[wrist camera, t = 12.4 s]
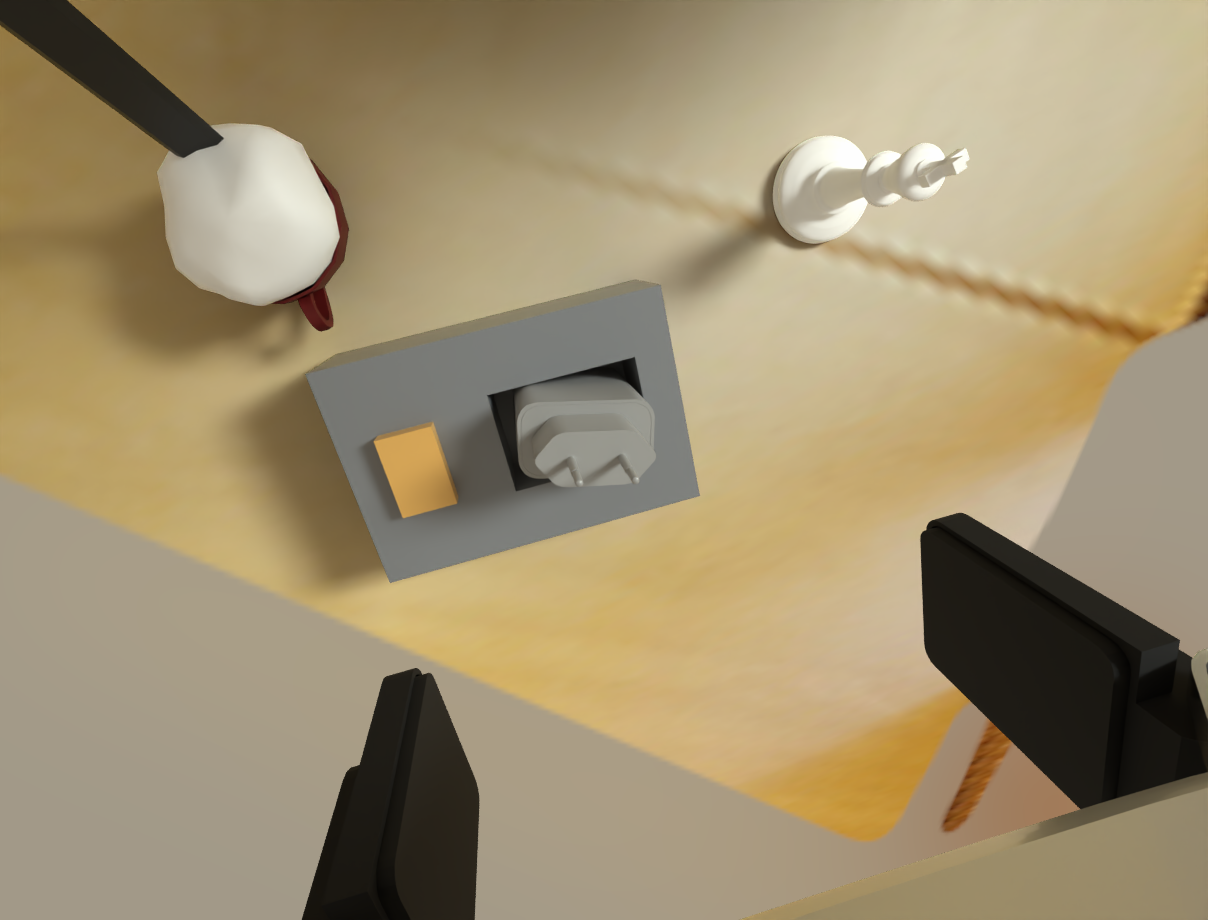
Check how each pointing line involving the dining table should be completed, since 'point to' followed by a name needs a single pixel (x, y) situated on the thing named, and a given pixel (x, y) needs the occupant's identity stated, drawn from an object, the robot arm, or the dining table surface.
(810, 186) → the chess piece
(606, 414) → the power adapter
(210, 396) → the dining table surface
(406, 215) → the dining table surface
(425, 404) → the socket block
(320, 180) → the cocoa
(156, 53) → the dining table surface
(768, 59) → the dining table surface
